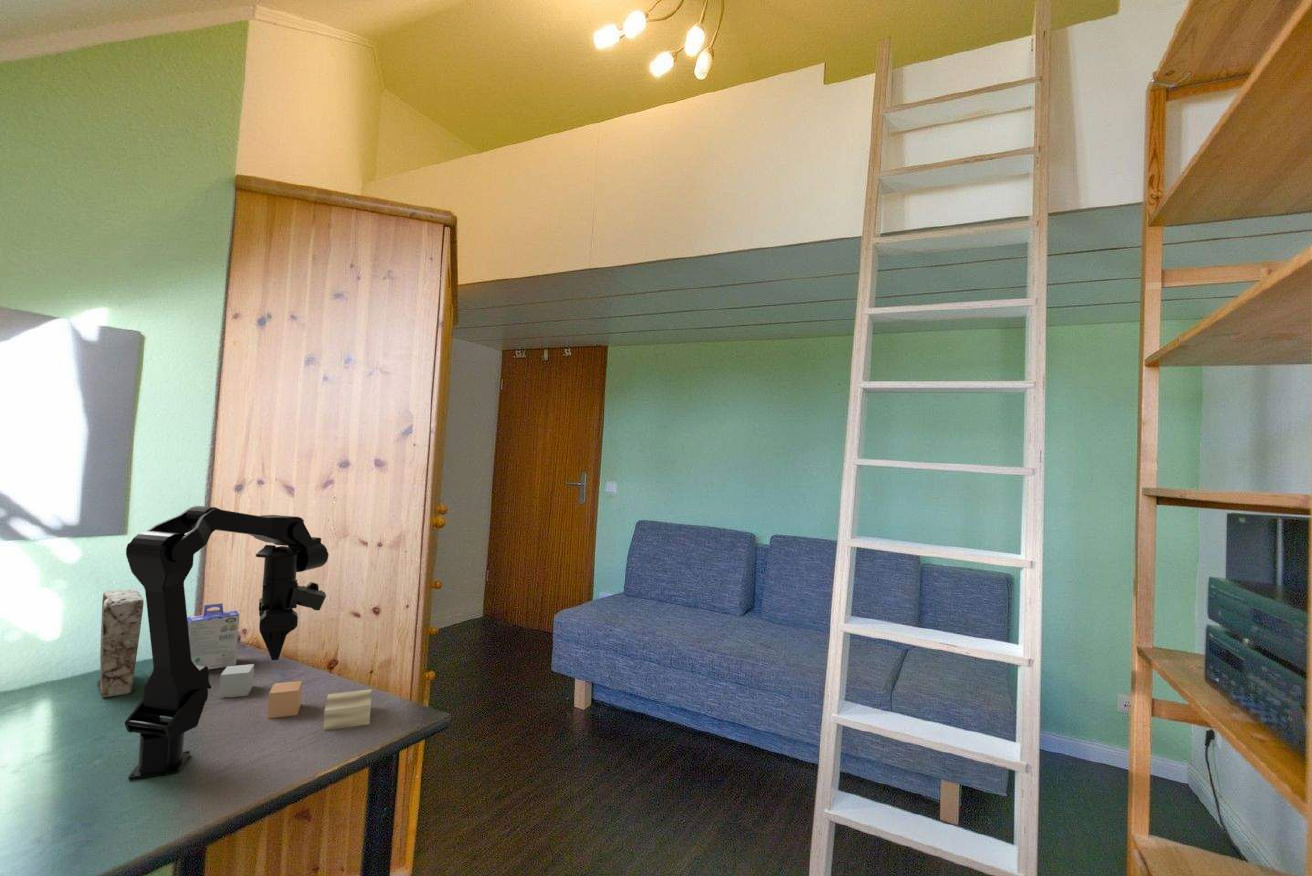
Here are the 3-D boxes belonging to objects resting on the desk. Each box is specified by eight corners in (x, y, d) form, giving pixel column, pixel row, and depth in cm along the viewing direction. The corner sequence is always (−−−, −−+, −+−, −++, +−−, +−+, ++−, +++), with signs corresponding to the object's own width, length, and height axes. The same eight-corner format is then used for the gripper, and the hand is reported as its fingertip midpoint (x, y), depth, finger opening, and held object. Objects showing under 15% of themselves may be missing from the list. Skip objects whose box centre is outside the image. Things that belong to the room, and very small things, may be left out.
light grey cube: (247, 695, 124) (248, 672, 125) (219, 698, 122) (220, 675, 123) (252, 686, 129) (254, 664, 129) (225, 689, 127) (227, 666, 127)
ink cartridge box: (234, 658, 144) (238, 600, 144) (237, 665, 140) (241, 605, 140) (183, 667, 137) (187, 606, 138) (185, 675, 133) (189, 611, 134)
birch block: (369, 725, 115) (370, 705, 115) (323, 731, 111) (324, 710, 111) (370, 708, 122) (371, 689, 122) (327, 714, 119) (328, 694, 119)
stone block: (143, 691, 124) (149, 597, 124) (98, 701, 118) (105, 603, 119) (129, 674, 132) (135, 586, 133) (86, 683, 127) (93, 591, 127)
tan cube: (296, 715, 117) (298, 690, 117) (267, 718, 115) (269, 693, 115) (300, 704, 122) (302, 680, 122) (272, 708, 120) (274, 683, 120)
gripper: (329, 582, 117) (324, 661, 116) (320, 565, 132) (315, 634, 131) (262, 587, 110) (256, 670, 110) (261, 569, 126) (256, 641, 125)
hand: (274, 652), depth 119 cm, fingers open, 9 cm apart
